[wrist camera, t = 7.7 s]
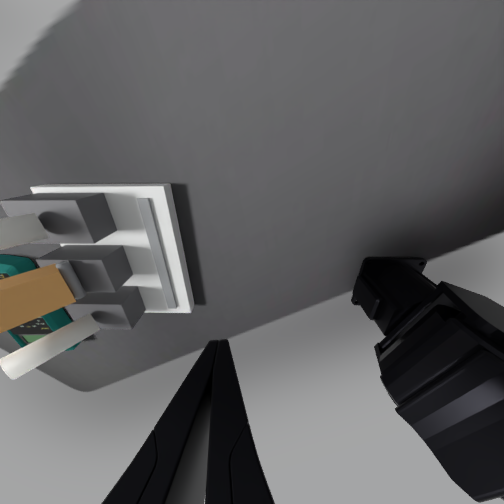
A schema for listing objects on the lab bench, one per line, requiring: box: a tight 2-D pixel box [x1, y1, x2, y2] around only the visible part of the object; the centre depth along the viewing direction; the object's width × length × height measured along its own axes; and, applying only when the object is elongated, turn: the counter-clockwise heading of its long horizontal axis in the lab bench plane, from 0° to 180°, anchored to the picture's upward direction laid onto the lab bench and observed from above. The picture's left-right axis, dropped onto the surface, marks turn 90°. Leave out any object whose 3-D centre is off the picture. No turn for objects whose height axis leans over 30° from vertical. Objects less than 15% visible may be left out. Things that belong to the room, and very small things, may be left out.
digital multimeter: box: [0, 254, 81, 351], centre depth 25 cm, size 7×15×3 cm, turn 3°
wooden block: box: [0, 261, 86, 333], centre depth 15 cm, size 2×4×9 cm
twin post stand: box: [0, 184, 195, 380], centre depth 17 cm, size 13×15×11 cm
